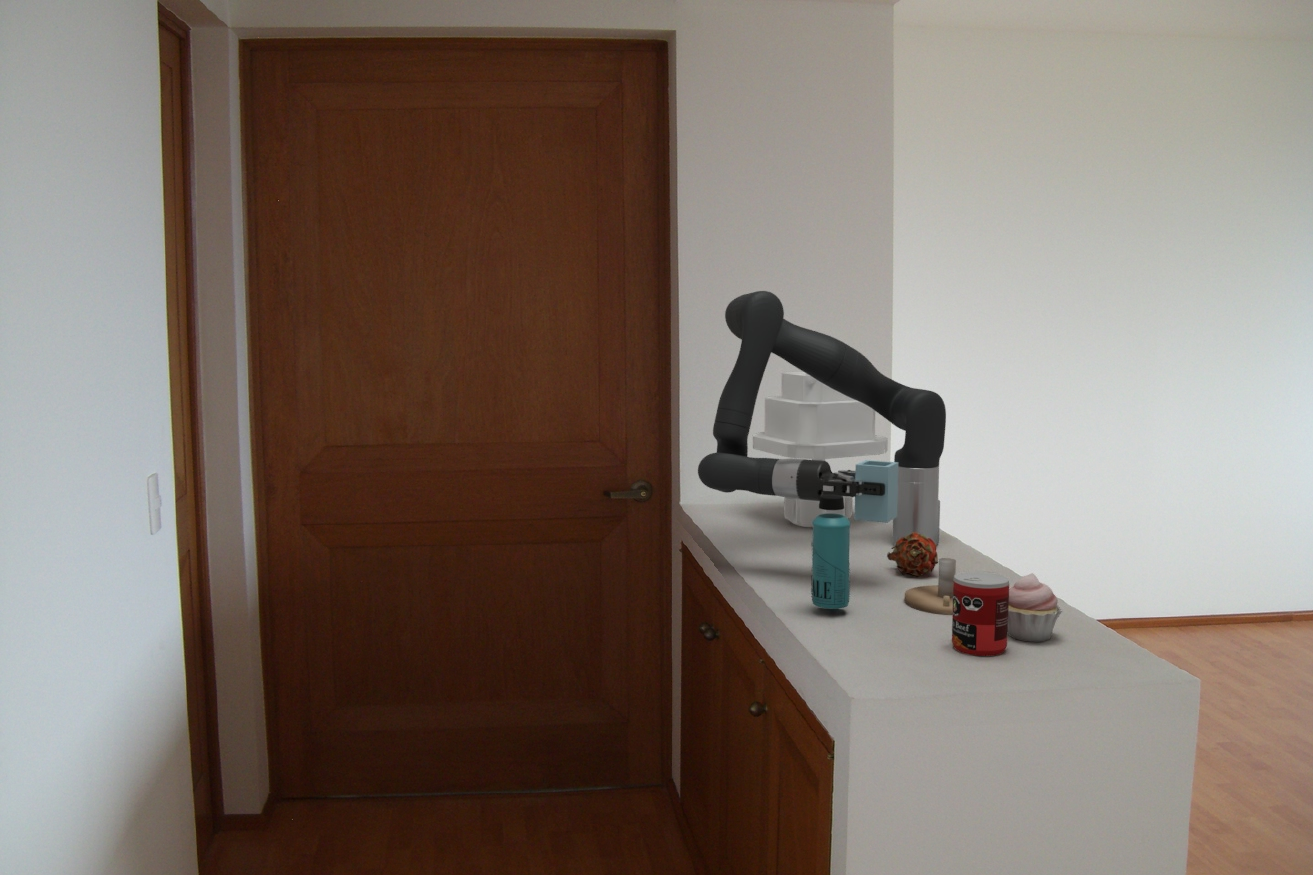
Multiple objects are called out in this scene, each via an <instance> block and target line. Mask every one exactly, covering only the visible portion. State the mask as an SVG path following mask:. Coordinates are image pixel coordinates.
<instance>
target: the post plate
mask: <svg viewBox="0 0 1313 875" xmlns="http://www.w3.org/2000/svg"><path fill="white" fill-rule="evenodd" d="M956 563H957V561H956V559H955V558H951V557H941V558H938V579H937V581H938V582H937V583H938V584H937V585H936V584H935V585H931V584H930V585H921V586H916V587H912V588H909V589H908V590H906V591H905V592H904V603H905V604H906V605H907V606H908V607H910V608H912V609H915V610H918V611H921V612H925V613H931V614H938V615H945V616H946V615H950V616H953V585H954V575H955V574H957V573H956V568H957V567H956V566H957V564H956Z"/></svg>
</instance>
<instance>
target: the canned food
mask: <svg viewBox="0 0 1313 875" xmlns="http://www.w3.org/2000/svg"><path fill="white" fill-rule="evenodd" d="M1009 589H1010V579H1009V577H1007V576H1005V575H1004V574H1000V573H996V572H989V571H982V570H981V571H980V570H979V571H977V570H975V571H974V570H972V571H971V570H970V571H969V570H968V571H962V572H957V573H955V575H954V585H953V615H951V616H952V617H951V618H952V619H951V620H952V622H951V623H952V626H951V644H952V646H953V649H955V651H958V652H960V653H963V654H965V655H969V656H976V657H994V656H1000V655H1002V654H1003V653H1006V652H1005V651H1006V649H1007V645H1008V609H1009Z"/></svg>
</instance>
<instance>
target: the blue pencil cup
mask: <svg viewBox="0 0 1313 875" xmlns="http://www.w3.org/2000/svg"><path fill="white" fill-rule="evenodd" d="M854 471H855V480H861V481H863V484H864V482H876V483H884V484H885V494H884V495H883V496H877V495H865V494H864V493H863V495H861V496H858V495H856V496H855V497H854V521H865V522H872V523H873V522H874V523H884V524H886V523H887V524H888V523H890V522H892V521H893V519H894V518H896V517H897V497H898V462H894V461H885V460H868V459H866V460H862V461H861V462H859V463H856V464H855V470H854Z"/></svg>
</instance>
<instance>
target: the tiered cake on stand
mask: <svg viewBox="0 0 1313 875" xmlns="http://www.w3.org/2000/svg"><path fill="white" fill-rule="evenodd" d="M888 438H889V437H887V436H883V435H877V434H876V411H875V410H873V409H872V408H870V407H869V406H867V405H865V404H863V403H861V402H859V401H857V400H854V399H852V398H850V397H848V396H846V395H844V394H842V393H840V392H838V391H836V390H834V389H832V388H830V387H828V386H826V385H825V384H823V383H821V382H820V381H818V380H816V379H815V378H813V377H812V376H810V375H808V374H807V373H805V372H803V371H802V370H800V371H786V372H785V371H784V372H782V373H781V395H777V396H776V395H774V396H772V395H771V396H767V397H764V431H762V432H756V433H754V434H752V449H753V450H756V451H759V452H764V453H768V454H773V455H776V456H781V457H784V458H788V459H790V458H792V459H807V460H820V461H826V460H829V459H840V458H841V459H842V458H853V457H855V458H856V457H865V456H866V457H867V456H876V455H878V456H879V455H883V454H886V453H887V452H888V444H889V442H888V440H889V439H888ZM783 498H784V501H783V513H784V514H783V515H784V519H785V520H788V521H789V522H791V524H793V525H796V526H799V527H802V528H803V527H805V528H806V527H807V528H813V520H814V519H815V518H816V517H817V516H819V515H820V514H828V513H833V514H841V515H843V516H845V517H846V518H847V519H848V520H849V519H850V518H852V516H853V515H852V514H853V498H854V497H850V496H843V500H844V509H842V510H824V509H820V508H819V502H820V501H812V500H801V499H790V498H785V497H783Z"/></svg>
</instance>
